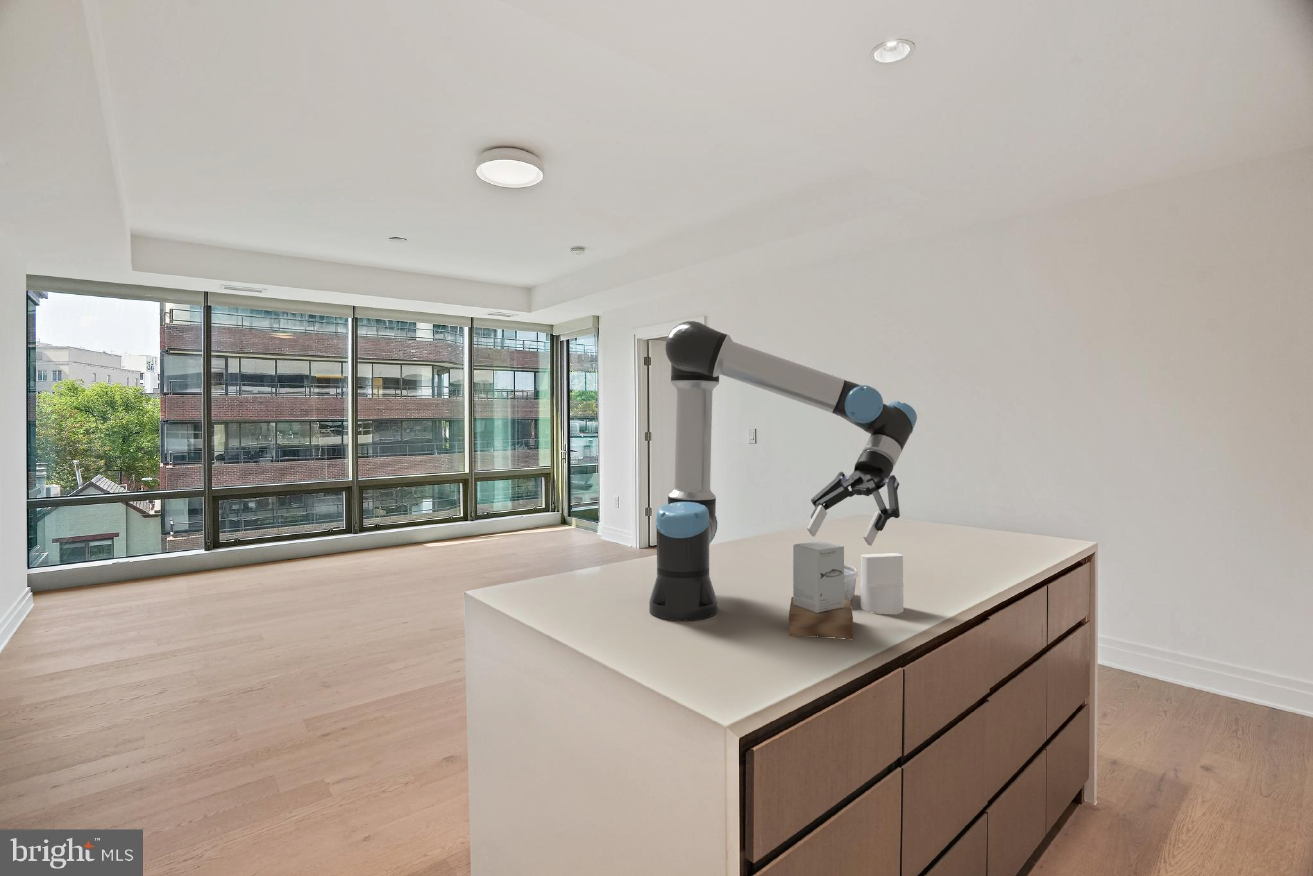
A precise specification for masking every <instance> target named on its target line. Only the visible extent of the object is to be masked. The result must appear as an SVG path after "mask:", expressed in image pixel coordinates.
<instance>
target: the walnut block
mask: <svg viewBox="0 0 1313 876" xmlns="http://www.w3.org/2000/svg"><path fill="white" fill-rule="evenodd" d="M851 603H852V602H851V600H844V607H843V608H838V609H832V610H827V611H823V612H819V613H816V612H813V611H810V610H807V609H804V608H802V607H799V606H796V605H794V604H793V596H791V598H790V605H789V611H788V635H789V636H794V637H796V636H797V637H806V636H816V637H815V638H819V637H835V638H845V639H844V640H847V639H853V640H854V615H853V609H852V608H853V607H852V604H851ZM817 636H818V637H817Z"/></svg>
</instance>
